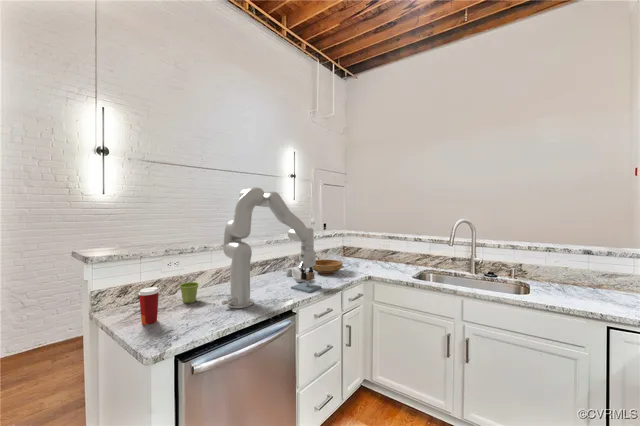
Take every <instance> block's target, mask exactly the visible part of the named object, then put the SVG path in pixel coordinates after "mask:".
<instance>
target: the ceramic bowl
mask: <svg viewBox="0 0 640 426" xmlns="http://www.w3.org/2000/svg"><path fill="white" fill-rule="evenodd" d="M344 268H345V267H344V265H343V261H340V260H338V259H337V260H336V259H316V265H315V267H314V270H313V271H315V272H317V273H318V274H319V275H323V276H331V275H334V274H335V273H336V272H339V271H340V270H341V269H344Z"/></svg>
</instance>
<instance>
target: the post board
mask: <svg viewBox="0 0 640 426" xmlns="http://www.w3.org/2000/svg"><path fill="white" fill-rule="evenodd" d="M306 274H309V273H306ZM290 289H291V290H295V291H298V292H302V293H306V294H307V293H308V294H310V293H313V292H316V291H318V290H321V289H322V286H321V285H318V284H312V283H310V281H306V282H303V283H298V284H294V285H292V286H290Z"/></svg>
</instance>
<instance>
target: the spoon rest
mask: <svg viewBox="0 0 640 426" xmlns="http://www.w3.org/2000/svg"><path fill="white" fill-rule="evenodd" d="M301 273H302V272H301V271H300V269H299V268H297V267H290V268H288V269H287V270H286V274H285V276H286V277H292V278H293V280H294V281H296V283H298V284H301V283H306V280H301Z"/></svg>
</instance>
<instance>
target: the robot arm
mask: <svg viewBox="0 0 640 426" xmlns="http://www.w3.org/2000/svg"><path fill="white" fill-rule="evenodd" d="M255 207H260V208H261V207H263V208H269V209H270V211H271V212H272V214H273V215H274V216H275V218H276V219H277V221H278V222H280V223H282V224H283V225H285V226H286V227H289V228H290V229H289V230H288V232H287V238H288V239H289V240H291V241H294V242H301V243H300V244H301V245H300V250H301V251H300V254H299V255H300V256H299V266H298V268H297V269H299V270H300V271H301V272H302V279H305V280H306V273H305V272H307V269H308V272H311V273H314V271H315V270H314V267H315V265H316V260H317V259H316V251H315V247H314V244H315V242H314V241H315V240H314V239H315V238H314V237H315V236H314V235H315V234H314V228H312V227H307V226H306V224H305V223H304V221H302V220H301V219H300V218H299V217H298V216H297V215H295V214H294V213H293V212H292V211H291V210H290V209H289V207H288V206H287V204H286V203H285V201H284V199H283V198H282V196H281V195H280V194H279V193H278V192H277V191H264V189H262V188H261V187H258V186H257V187H255V186H254V187H247V188H244V189H242V190H241V191H240V192H239V199H238V201H237V202H236V205H235V208H234V216H233V219H231V220H229V221H228V222H227V223H226V225H225V227H224V233H223V235H224V236H223V253H224V255H225V256H226V257H227V258H230V259H231V263H230V270H229V271H230V273H229V274H230V277H229V279H230V280H229V281H230V295H229V296H228V298H227V299H225V300H222V301H221V304H222V306H225V305H227V307H228V308H230V309H244V308H249V307H251V306H252V305H253V304H254V300H253V299H252V298H251V260H252V250H253V249H252V248H251V246H250V244H249V243H247V242H244V241H242V240H244V239H246V238H248V237H249V236H250V235H251V231H252V230H251V229H252V216H253V212H254V208H255Z"/></svg>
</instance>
